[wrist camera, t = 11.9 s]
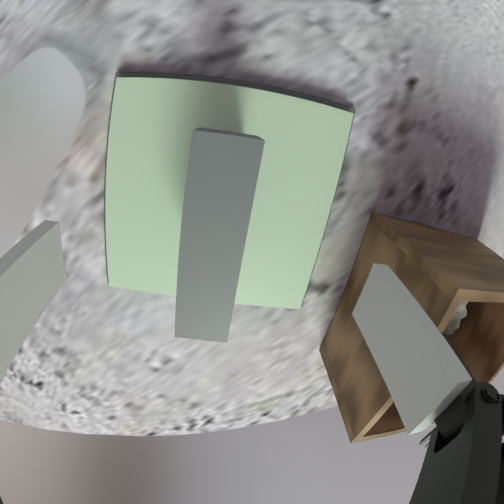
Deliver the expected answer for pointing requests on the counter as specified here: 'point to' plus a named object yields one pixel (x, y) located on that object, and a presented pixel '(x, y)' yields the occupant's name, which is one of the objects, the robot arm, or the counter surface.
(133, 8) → the counter surface
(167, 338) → the counter surface
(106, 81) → the counter surface
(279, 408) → the counter surface
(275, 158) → the lid
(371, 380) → the crate
